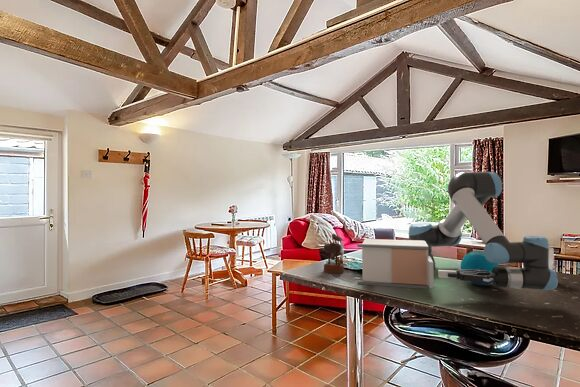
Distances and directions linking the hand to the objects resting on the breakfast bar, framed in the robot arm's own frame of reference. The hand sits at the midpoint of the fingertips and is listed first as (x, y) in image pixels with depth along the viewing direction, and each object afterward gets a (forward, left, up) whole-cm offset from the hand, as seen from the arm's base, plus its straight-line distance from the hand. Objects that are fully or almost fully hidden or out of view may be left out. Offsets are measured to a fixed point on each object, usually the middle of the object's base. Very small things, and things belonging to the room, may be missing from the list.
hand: (438, 273), depth 133 cm
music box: (+30, -48, -9) cm, 57 cm away
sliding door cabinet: (+8, -24, -9) cm, 27 cm away
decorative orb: (-26, -10, -9) cm, 30 cm away
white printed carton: (-60, -11, -9) cm, 62 cm away
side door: (+7, -8, -7) cm, 13 cm away
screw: (+20, -63, -9) cm, 67 cm away
